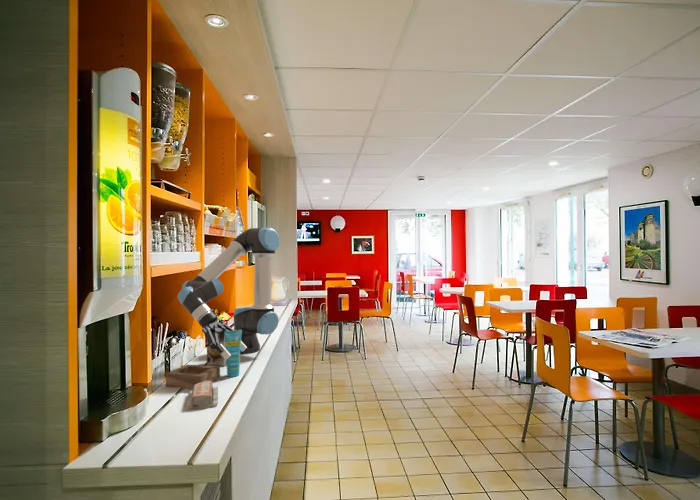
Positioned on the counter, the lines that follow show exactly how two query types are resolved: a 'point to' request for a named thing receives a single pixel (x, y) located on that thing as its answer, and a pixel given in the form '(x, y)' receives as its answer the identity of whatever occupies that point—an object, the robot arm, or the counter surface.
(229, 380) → the counter surface
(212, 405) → the packaged product
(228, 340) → the tube
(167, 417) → the counter surface
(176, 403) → the counter surface
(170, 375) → the collar
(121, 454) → the counter surface
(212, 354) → the coffee box
